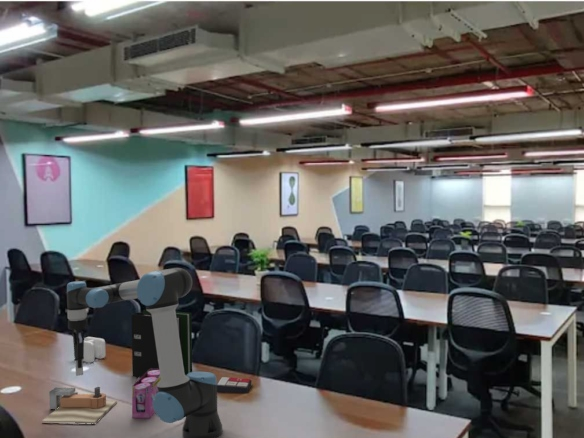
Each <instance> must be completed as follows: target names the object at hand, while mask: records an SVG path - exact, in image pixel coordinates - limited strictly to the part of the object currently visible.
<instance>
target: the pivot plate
mask: <svg viewBox="0 0 584 438" xmlns="http://www.w3.org/2000/svg"><path fill="white" fill-rule="evenodd" d="M93 390H94V394H95V398H98V397H100V393H101V387H100V386H97V387H94V389H93ZM117 403H118V402H117V400H106V405H105V406H104V407H100V408H90V407H61V406H60V407H59V408H58V409H56V410H53V411H52V412H51V413H49V415H47V416H46V417H44V419H42V420H41V422H42V421H47V422H48V421H49V422H75V423H85V424H87V423H91V424H92V423H93V424H95V423H96V422H97V421H98V420H99V419H100V418H101V419H102V418H104V416H106V414H107V413H109V412H110V411H111V410H112V408H115V406H116V405H117ZM101 419H100V420H101ZM100 420H99V421H100ZM99 421H98V422H99ZM98 422H97V423H98ZM97 423H96V424H97ZM96 424H95V425H96Z"/></svg>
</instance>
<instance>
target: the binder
mask: <svg viewBox="0 0 584 438" xmlns="http://www.w3.org/2000/svg"><path fill="white" fill-rule="evenodd" d="M175 312H176V318H177V325H178V332H179V339H180V346H181V353H182V360H183V366H184V373H185V375H187V374H188V373H191V372H193V334H192V329H193V328H192V327H193V326H192V312H183V311H175ZM130 316H131V360H132V369H131V370H132V371H131V372H132V377H133V378H139V379H140V378H141V377H142V376H143V375H144V374H145V373H146V372H147V371H148V370H149V369H159V363H158V356H157V349H156V342H155V335H154V328H153V321H152V315H151V313H150V312H148V311H147V310H146V309H144V310H142V312H135V313H132V314H131V315H130Z"/></svg>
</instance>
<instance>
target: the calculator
mask: <svg viewBox="0 0 584 438" xmlns="http://www.w3.org/2000/svg"><path fill="white" fill-rule="evenodd" d="M251 386H252V379H251V378H245V377H244V378H242V377H241V378H240V377H231V376H230V377H226V376H225V377H224V376H222V377H220V379H219V380H218V381H217V393H228V394H229V393H230V394H231V393H232V394H233V393H234V394H247V393H249V391H250V389H251Z"/></svg>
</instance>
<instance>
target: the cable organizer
mask: <svg viewBox="0 0 584 438" xmlns="http://www.w3.org/2000/svg"><path fill="white" fill-rule="evenodd" d="M73 357H74V359H75V356H74V355H73ZM105 357H106V341H105V339H104V338H101V337H93V336H87V337H84V359H83V362H85V363H89V364H91V363H93V362H94V361H95V358H96V359H99V360H101V359H103V358H105Z"/></svg>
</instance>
